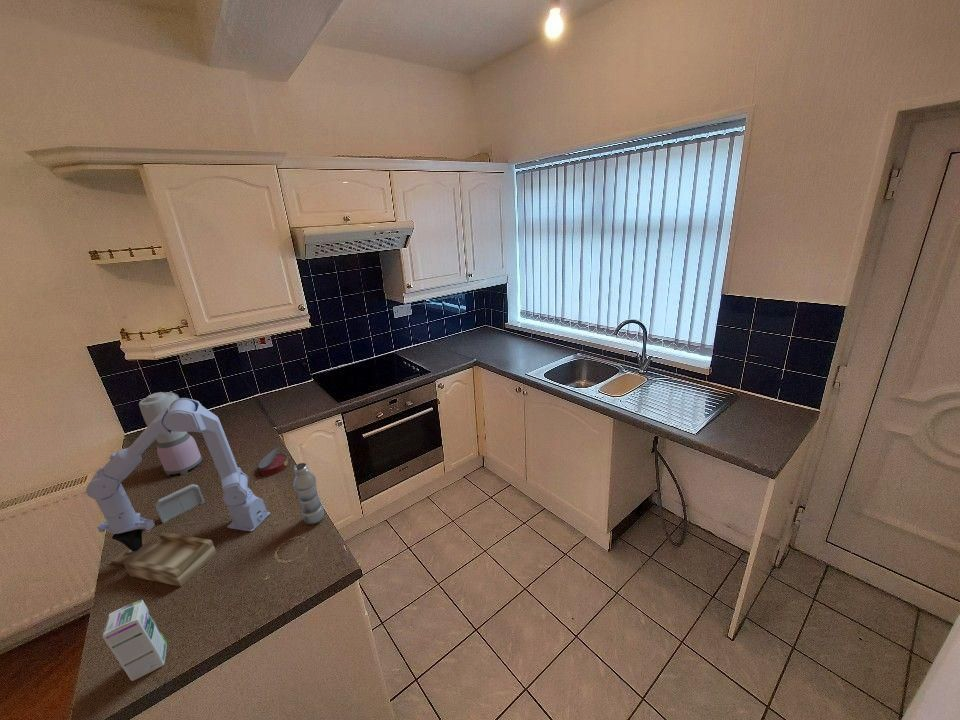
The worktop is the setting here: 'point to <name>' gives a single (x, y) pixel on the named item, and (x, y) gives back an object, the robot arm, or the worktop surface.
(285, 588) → the worktop surface
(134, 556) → the lid plate
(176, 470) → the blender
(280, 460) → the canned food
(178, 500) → the arched grey pull
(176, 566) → the oak box
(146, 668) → the syrup box
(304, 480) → the plastic bottle
